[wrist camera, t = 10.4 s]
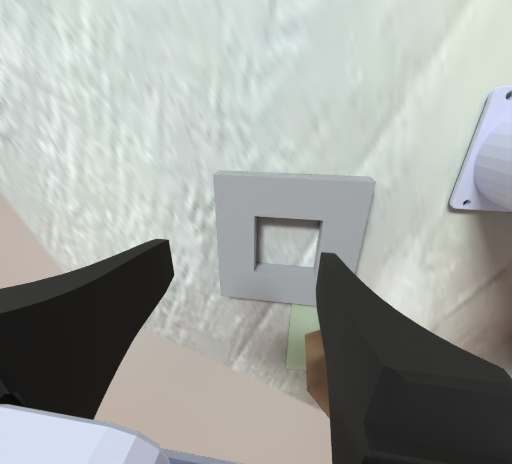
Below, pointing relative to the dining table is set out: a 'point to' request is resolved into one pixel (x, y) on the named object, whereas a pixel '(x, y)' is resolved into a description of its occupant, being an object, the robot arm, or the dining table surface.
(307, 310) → the felt mat
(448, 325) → the dining table surface
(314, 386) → the walnut block
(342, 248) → the pocket board
